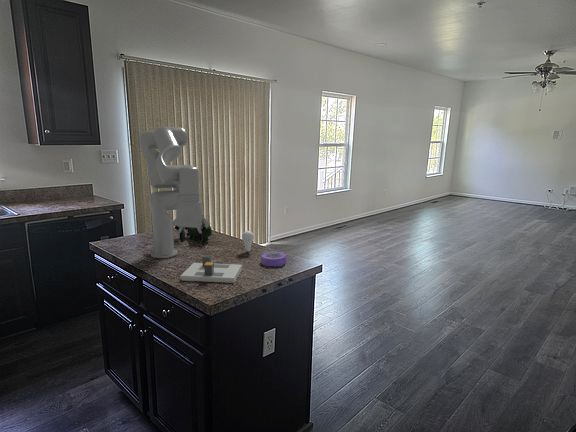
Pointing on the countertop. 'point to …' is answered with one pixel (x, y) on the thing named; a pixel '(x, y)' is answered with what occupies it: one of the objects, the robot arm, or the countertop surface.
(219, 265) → the board
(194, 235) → the toy figurine
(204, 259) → the on handle
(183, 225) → the robot arm
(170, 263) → the countertop surface
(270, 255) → the masking tape
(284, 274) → the countertop surface
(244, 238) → the lightbulb
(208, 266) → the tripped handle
